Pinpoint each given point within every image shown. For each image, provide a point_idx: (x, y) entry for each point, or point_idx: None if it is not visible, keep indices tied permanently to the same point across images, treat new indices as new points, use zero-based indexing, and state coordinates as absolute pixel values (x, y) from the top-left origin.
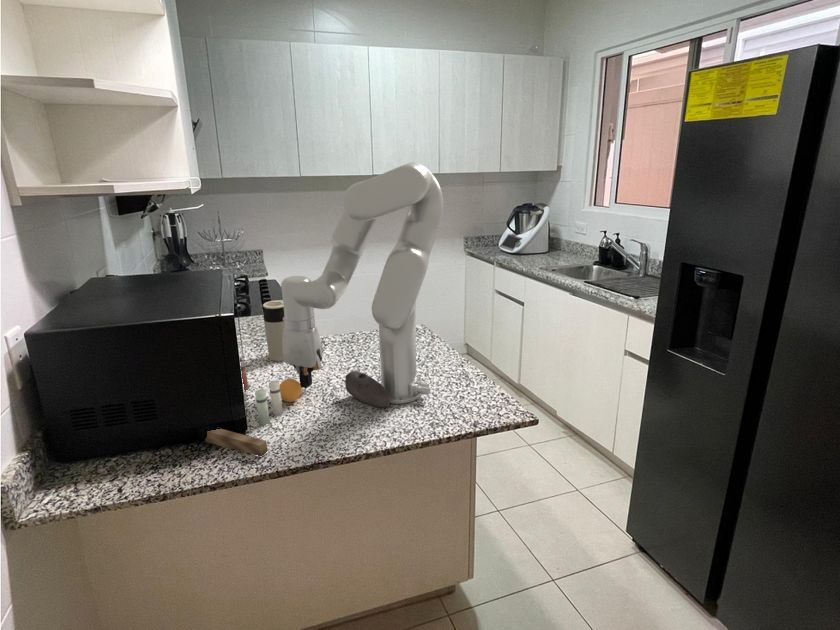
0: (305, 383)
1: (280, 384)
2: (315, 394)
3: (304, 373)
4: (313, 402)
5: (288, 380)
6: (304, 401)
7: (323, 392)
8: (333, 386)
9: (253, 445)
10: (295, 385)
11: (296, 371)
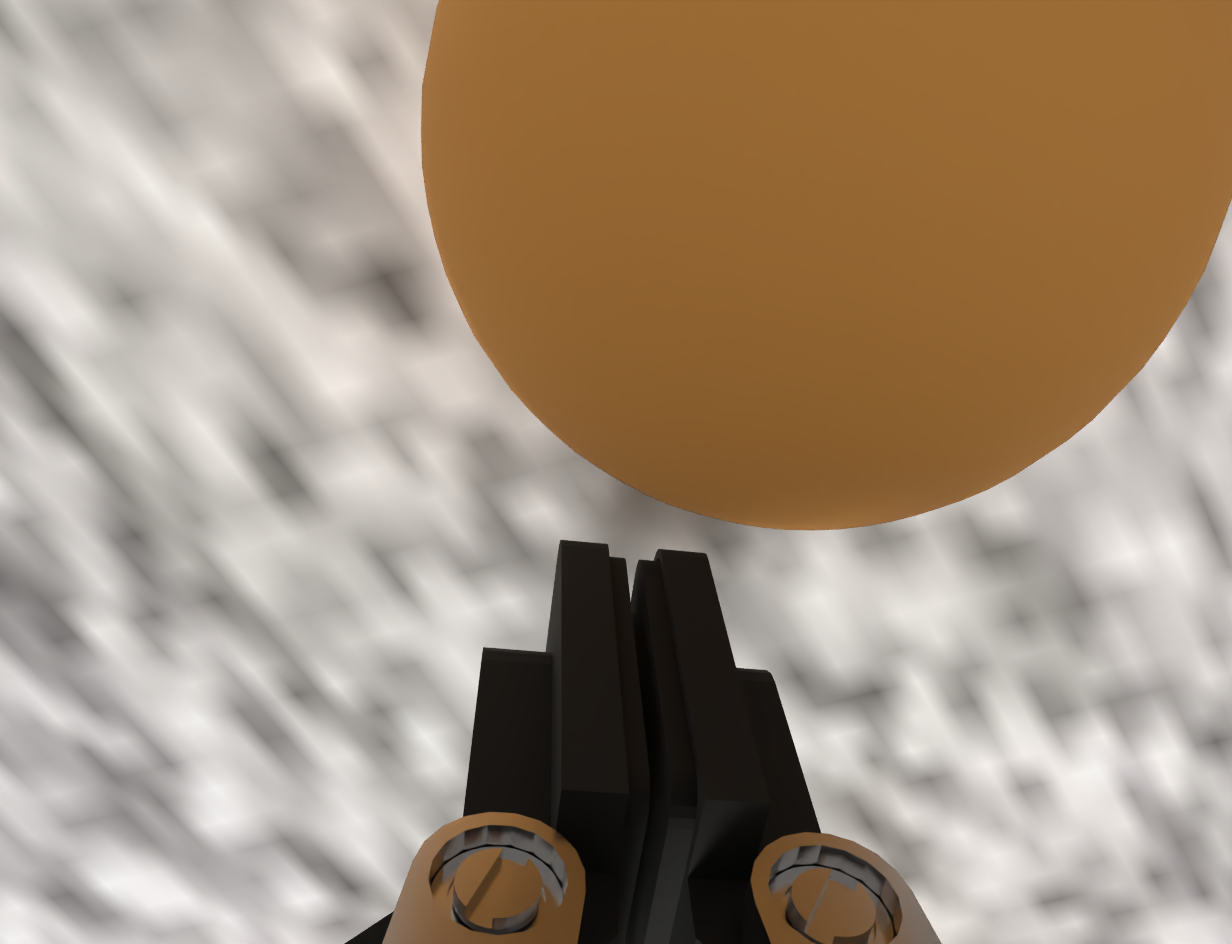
0: (557, 633)
1: (1223, 2)
2: (350, 514)
3: (562, 881)
4: (149, 177)
5: (925, 190)
6: (393, 160)
7: (241, 626)
8: (212, 854)
9: None
10: (520, 117)
11: (919, 905)
